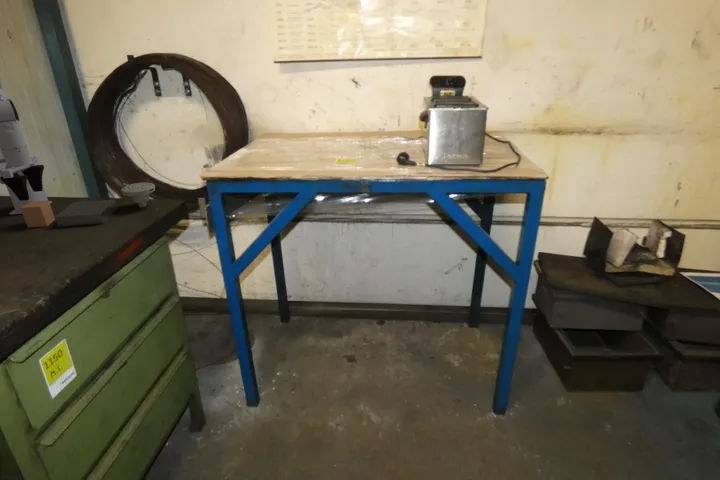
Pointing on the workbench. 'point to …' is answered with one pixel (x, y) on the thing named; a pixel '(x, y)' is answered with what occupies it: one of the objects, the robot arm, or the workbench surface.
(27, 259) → the workbench surface
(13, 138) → the robot arm
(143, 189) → the showerhead
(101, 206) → the steel base
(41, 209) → the terracotta block
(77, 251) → the workbench surface
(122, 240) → the workbench surface
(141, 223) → the workbench surface
